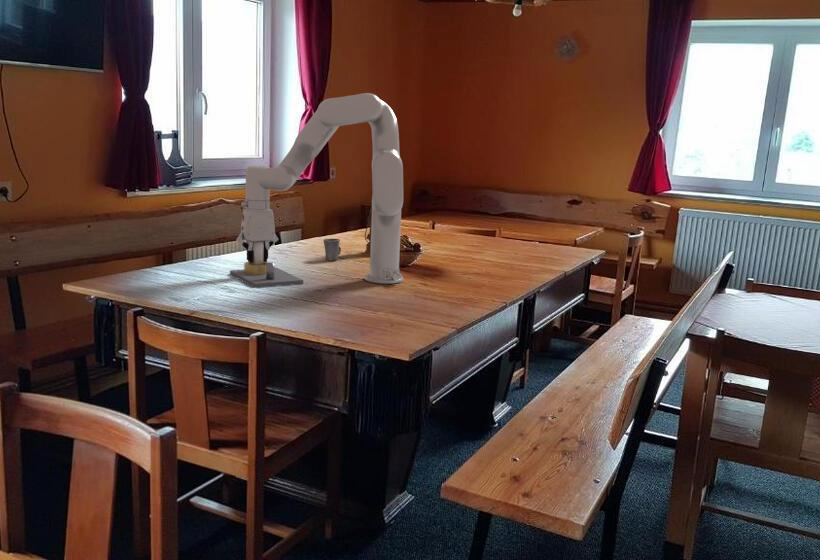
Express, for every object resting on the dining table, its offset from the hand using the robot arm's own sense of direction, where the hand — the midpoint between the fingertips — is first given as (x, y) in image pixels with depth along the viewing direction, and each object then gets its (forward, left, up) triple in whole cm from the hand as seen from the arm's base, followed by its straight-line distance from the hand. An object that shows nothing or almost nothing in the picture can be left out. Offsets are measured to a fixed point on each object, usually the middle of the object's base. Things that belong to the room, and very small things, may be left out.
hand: (257, 261), depth 241 cm
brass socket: (0, 0, -4) cm, 4 cm away
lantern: (+25, -61, -5) cm, 66 cm away
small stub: (-11, 0, -4) cm, 12 cm away
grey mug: (+20, -37, -5) cm, 43 cm away
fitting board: (-5, -1, -5) cm, 7 cm away
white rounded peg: (0, 0, -1) cm, 1 cm away
